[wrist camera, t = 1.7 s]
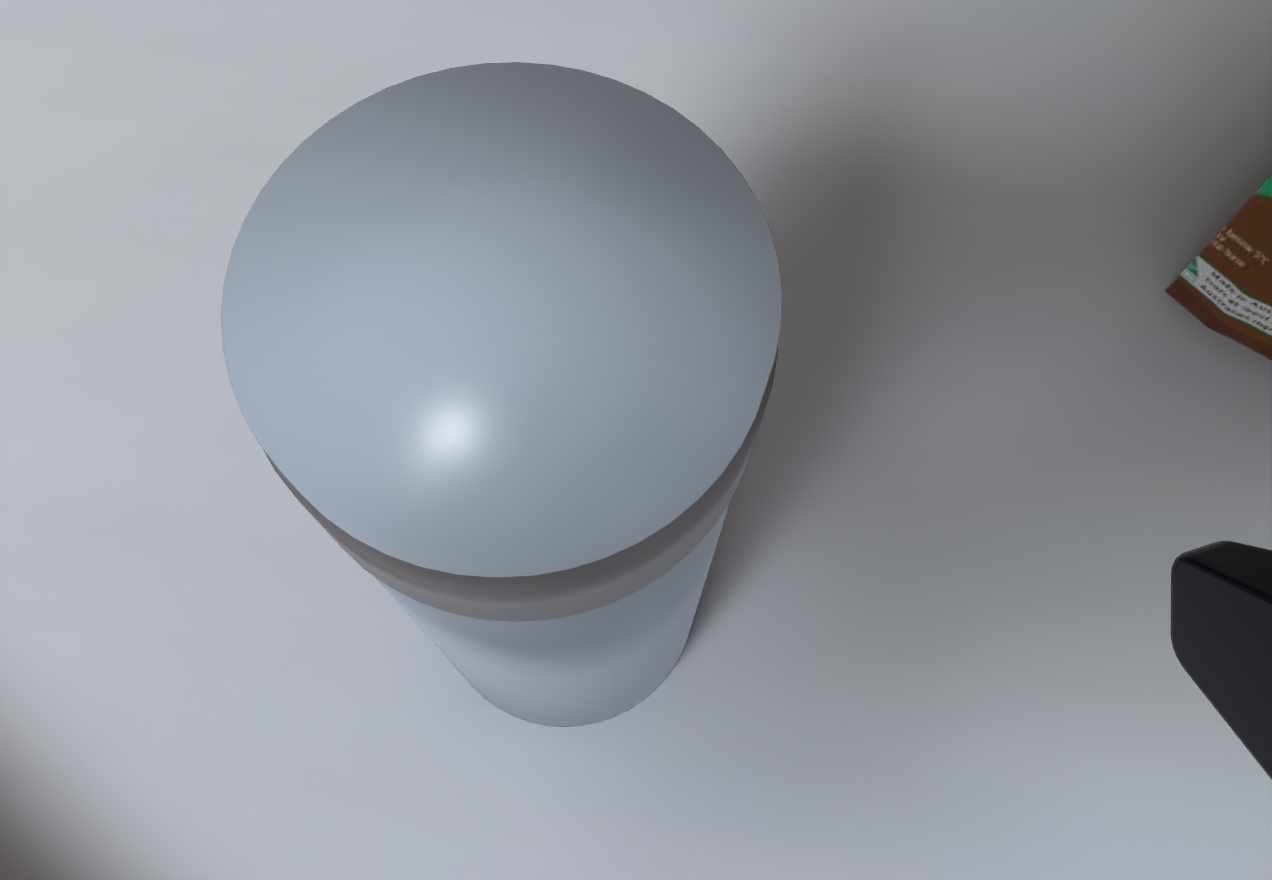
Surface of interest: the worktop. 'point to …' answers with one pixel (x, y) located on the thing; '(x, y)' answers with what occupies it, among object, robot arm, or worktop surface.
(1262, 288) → the food container
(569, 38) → the worktop surface
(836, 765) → the worktop surface
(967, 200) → the worktop surface
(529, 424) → the canister
